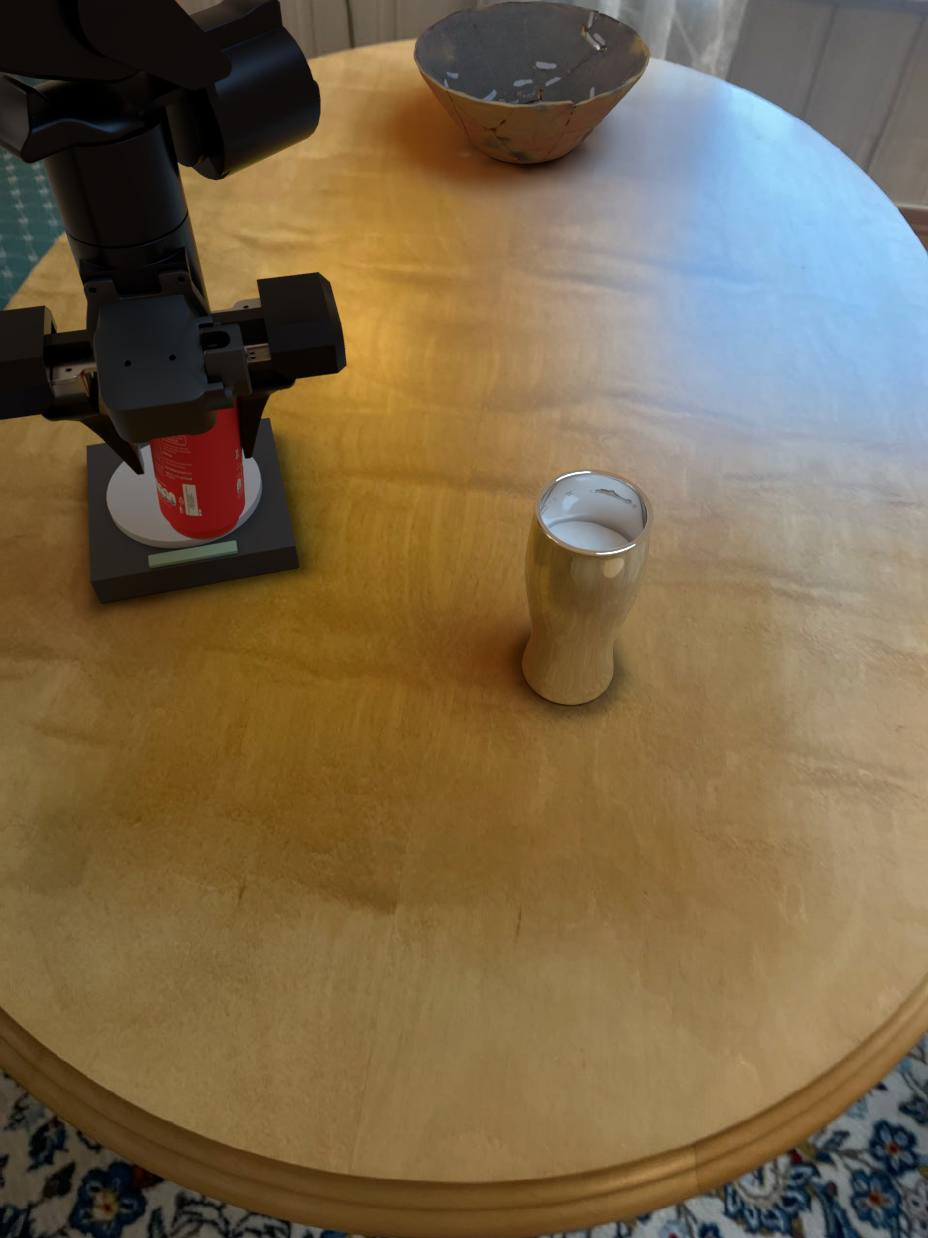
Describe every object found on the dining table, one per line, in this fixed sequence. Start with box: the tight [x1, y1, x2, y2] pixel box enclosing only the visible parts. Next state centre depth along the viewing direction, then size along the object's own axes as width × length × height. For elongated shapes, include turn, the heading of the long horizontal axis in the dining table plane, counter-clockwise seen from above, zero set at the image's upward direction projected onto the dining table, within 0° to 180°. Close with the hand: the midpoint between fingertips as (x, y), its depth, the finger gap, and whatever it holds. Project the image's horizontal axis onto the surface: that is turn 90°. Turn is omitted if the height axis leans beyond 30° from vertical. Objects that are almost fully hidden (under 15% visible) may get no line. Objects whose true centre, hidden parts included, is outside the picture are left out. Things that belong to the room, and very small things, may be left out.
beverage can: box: [149, 397, 245, 540], centre depth 57 cm, size 5×5×12 cm
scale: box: [85, 417, 300, 604], centre depth 72 cm, size 14×14×3 cm
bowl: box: [413, 0, 651, 165], centre depth 105 cm, size 25×25×10 cm
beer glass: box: [521, 468, 655, 706], centre depth 59 cm, size 7×7×15 cm
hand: (194, 461), depth 58 cm, fingers closed on beverage can, 6 cm apart
